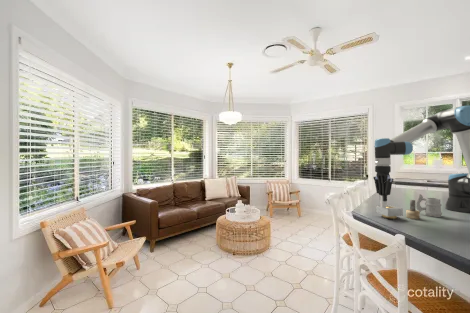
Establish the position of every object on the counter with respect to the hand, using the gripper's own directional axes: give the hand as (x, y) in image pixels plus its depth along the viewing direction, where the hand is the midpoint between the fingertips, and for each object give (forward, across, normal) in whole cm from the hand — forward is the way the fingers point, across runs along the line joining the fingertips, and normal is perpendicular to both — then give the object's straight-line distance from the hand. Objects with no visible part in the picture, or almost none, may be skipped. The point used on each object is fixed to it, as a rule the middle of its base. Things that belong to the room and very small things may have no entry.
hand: (383, 206), depth 132 cm
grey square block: (+4, 0, +3) cm, 6 cm away
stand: (+6, +3, +15) cm, 17 cm away
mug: (+7, -1, +29) cm, 30 cm away
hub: (+6, 0, +3) cm, 7 cm away
